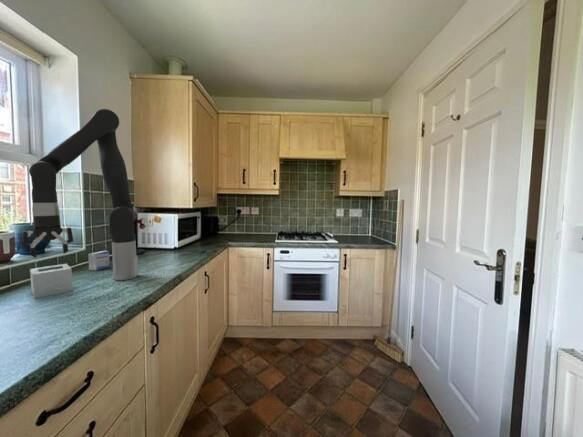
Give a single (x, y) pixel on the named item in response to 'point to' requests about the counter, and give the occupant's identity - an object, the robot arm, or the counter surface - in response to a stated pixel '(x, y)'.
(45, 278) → the money box
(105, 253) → the medicine box
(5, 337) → the counter surface
